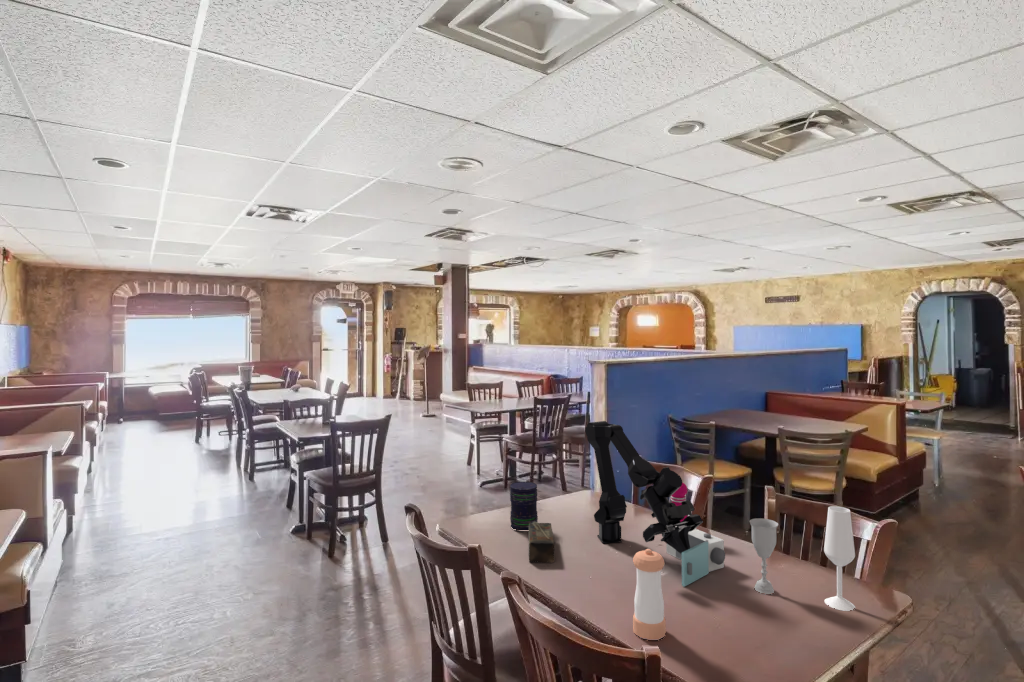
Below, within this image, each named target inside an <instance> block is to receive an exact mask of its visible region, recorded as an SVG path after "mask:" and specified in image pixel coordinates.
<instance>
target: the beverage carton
mask: <svg viewBox="0 0 1024 682" xmlns="http://www.w3.org/2000/svg"><path fill="white" fill-rule="evenodd" d="M554 539H555V538H554V533H553V527H552V523H550V522H538V521H537V522H533V523H529V532H528V562H529V563H539V564H540V563H544V564H545V563H546V564H548V563H549V564H553V562H555V540H554Z"/></svg>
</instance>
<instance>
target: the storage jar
mask: <svg viewBox="0 0 1024 682" xmlns="http://www.w3.org/2000/svg"><path fill="white" fill-rule="evenodd" d="M537 488H538V483H537V484H536V483H535V482H531V481H516V482H512V483H511V484H510V485H509V501H510V513H509V514H510V516H509V519H510V528H511V527H512V528H513V529H516V530H529V523H533V522H538V520H539V518H538V517H539V516H538V511H537V502H538V489H537ZM513 529H512V530H513Z"/></svg>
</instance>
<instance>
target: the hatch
mask: <svg viewBox="0 0 1024 682" xmlns="http://www.w3.org/2000/svg"><path fill="white" fill-rule="evenodd" d="M708 574H709V573H708V542H706V541H705V542H703V543H701V544H699V545H697V546H695V547H693V548H690V549H688V550H686V551H684V552H682V560H681V586H682V587H686V586H689V585H690V584H692V583H694V582H696V581H698V580H700V579H701V578H703V577H705V576H707V575H708Z"/></svg>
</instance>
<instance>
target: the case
mask: <svg viewBox="0 0 1024 682" xmlns="http://www.w3.org/2000/svg"><path fill="white" fill-rule="evenodd" d="M675 527H677V526H675ZM688 538H689V544H690V548H693V547H695V546H697V545H699V544H701V543H703V542H705V541H706V542H708V574H709V572H710V573H711V572H713V571H716V570H719V569H723V568H724V567H725V559H726V552H725V549H724V548H725V543H724V542H725V540H724V539H722V538H720V537H718V536H715V535H712V534H711V533H709V532H708V533H707V532H705V531H702V530H700V529H697V528H696V529H694V530H693V531H690V532H689V533H688ZM665 545H666V546H665V547H666V548H665V549H666V554H668V555H670V556H671V557H672V556H673V557H674V558H676V559H678V560H681V561H682V554H680V553H679V552H678V551H677V550H675V549H674V548H673V547H671V546H670V545H668V544H667V543H665Z"/></svg>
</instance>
